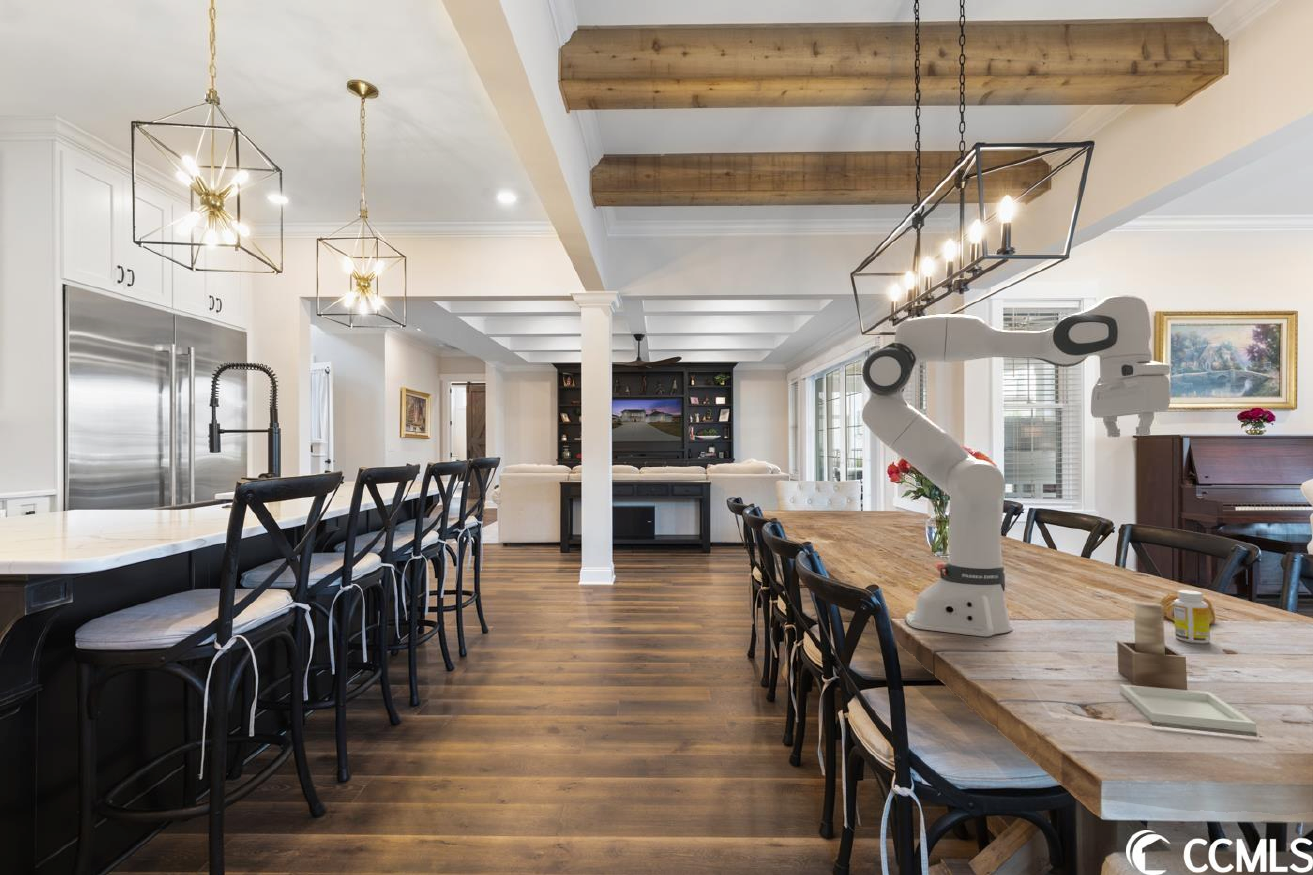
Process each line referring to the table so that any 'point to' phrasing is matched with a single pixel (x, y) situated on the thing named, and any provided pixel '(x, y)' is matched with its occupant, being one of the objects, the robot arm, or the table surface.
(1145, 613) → the dowel
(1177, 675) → the open wooden box
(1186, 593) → the supplement bottle
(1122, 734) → the table surface
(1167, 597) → the croissant
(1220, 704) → the tray
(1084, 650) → the table surface
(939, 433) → the robot arm
